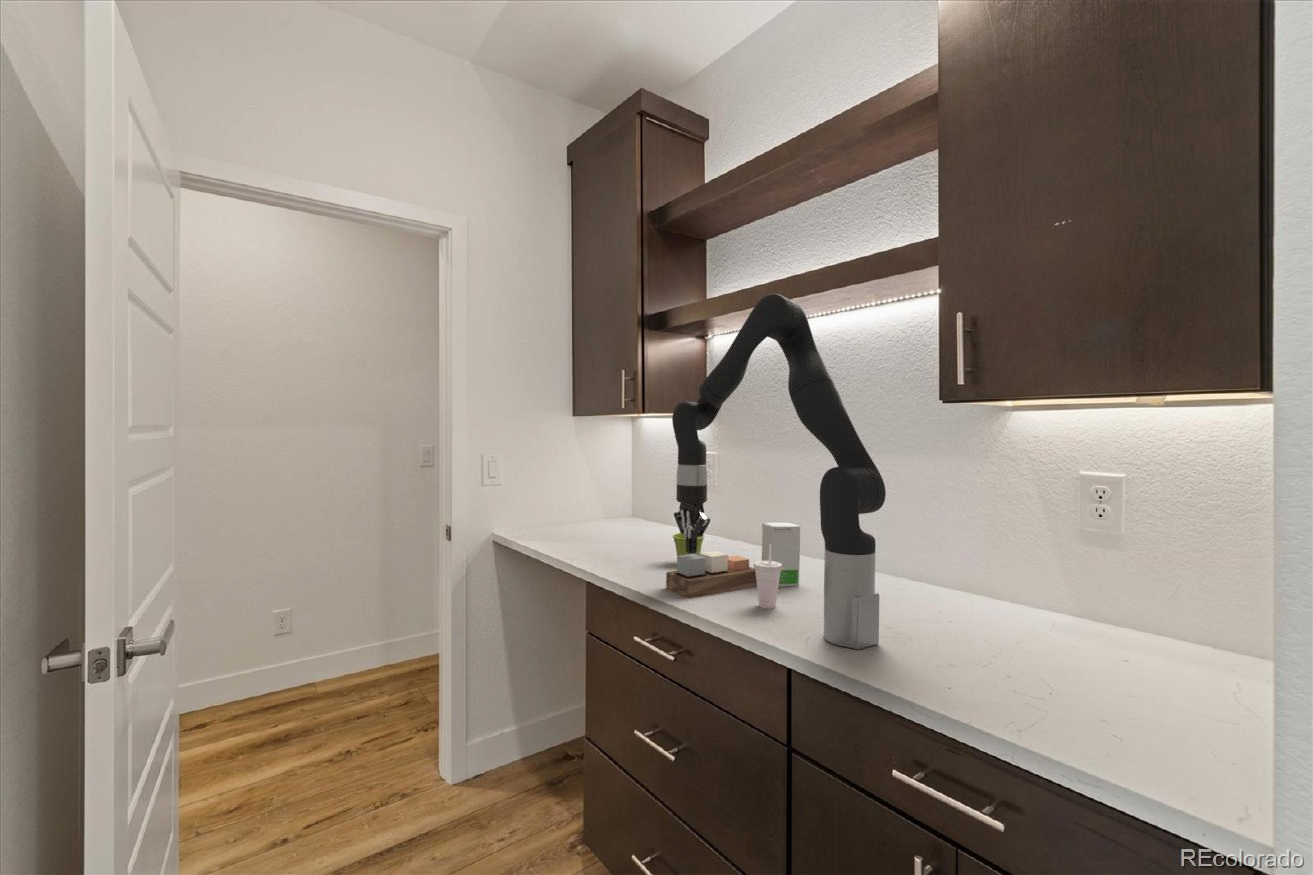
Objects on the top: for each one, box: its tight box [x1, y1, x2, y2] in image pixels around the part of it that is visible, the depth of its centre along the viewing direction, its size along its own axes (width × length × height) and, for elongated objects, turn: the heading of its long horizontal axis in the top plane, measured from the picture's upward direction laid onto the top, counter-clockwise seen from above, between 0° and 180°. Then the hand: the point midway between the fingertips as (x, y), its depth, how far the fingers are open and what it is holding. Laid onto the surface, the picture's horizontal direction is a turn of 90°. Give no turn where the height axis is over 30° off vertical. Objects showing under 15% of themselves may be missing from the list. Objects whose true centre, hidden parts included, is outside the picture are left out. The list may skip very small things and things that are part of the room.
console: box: [665, 566, 757, 599], centre depth 150 cm, size 10×22×4 cm, turn 121°
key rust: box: [728, 555, 750, 572], centre depth 154 cm, size 5×5×4 cm
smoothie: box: [753, 545, 782, 610], centre depth 134 cm, size 6×6×14 cm
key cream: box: [700, 550, 729, 573], centre depth 150 cm, size 5×5×4 cm
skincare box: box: [761, 522, 801, 588], centre depth 154 cm, size 8×7×16 cm
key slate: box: [676, 554, 705, 576], centre depth 146 cm, size 5×5×4 cm
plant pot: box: [672, 532, 705, 557], centre depth 174 cm, size 9×9×9 cm
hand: (691, 552), depth 146 cm, fingers closed
